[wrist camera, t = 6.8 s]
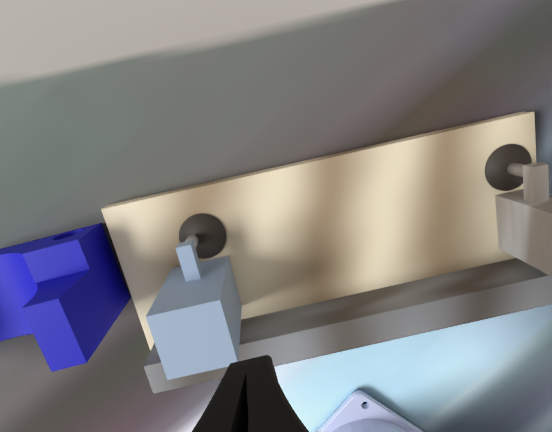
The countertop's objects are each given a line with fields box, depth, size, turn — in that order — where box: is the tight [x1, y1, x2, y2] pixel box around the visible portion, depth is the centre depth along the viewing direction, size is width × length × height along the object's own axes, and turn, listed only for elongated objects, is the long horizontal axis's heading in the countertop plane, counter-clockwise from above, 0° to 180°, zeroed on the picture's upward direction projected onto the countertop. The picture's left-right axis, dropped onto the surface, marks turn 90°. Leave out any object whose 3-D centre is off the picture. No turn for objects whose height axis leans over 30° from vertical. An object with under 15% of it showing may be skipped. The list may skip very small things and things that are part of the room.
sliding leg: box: [146, 235, 242, 380], centre depth 18 cm, size 3×5×5 cm, turn 12°
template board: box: [101, 112, 552, 394], centre depth 18 cm, size 22×10×6 cm, turn 102°
